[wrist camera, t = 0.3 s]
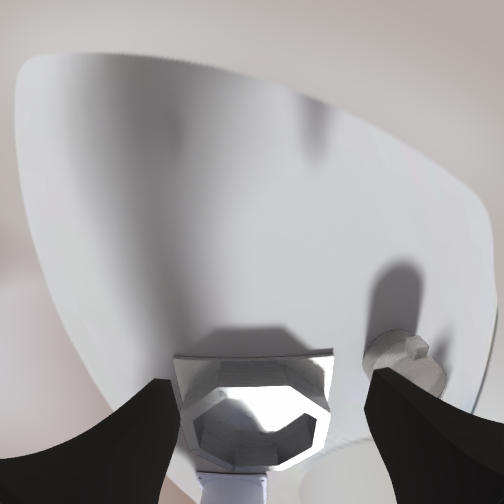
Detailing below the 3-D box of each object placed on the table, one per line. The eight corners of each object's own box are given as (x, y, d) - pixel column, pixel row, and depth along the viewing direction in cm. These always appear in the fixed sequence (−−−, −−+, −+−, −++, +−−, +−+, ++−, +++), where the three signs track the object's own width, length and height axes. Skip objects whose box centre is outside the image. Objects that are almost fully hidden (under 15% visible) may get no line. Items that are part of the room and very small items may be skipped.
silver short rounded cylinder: (406, 372, 20) (433, 410, 14) (357, 382, 20) (379, 426, 14) (420, 315, 18) (458, 348, 13) (368, 322, 18) (400, 362, 13)
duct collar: (317, 446, 21) (321, 468, 18) (196, 448, 22) (192, 470, 19) (333, 352, 19) (343, 376, 16) (174, 356, 19) (163, 379, 16)
